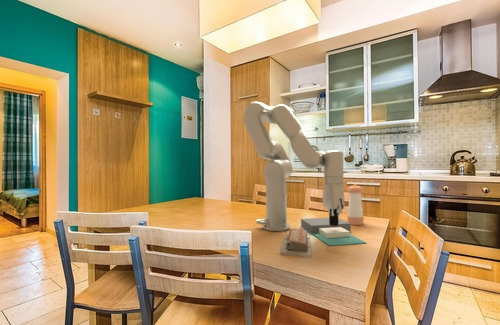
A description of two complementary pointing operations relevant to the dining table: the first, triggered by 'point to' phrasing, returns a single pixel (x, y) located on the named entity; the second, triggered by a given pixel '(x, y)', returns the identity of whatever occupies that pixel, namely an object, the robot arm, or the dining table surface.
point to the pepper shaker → (355, 205)
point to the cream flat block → (334, 232)
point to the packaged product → (296, 243)
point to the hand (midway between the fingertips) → (333, 225)
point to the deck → (322, 224)
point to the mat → (339, 240)
